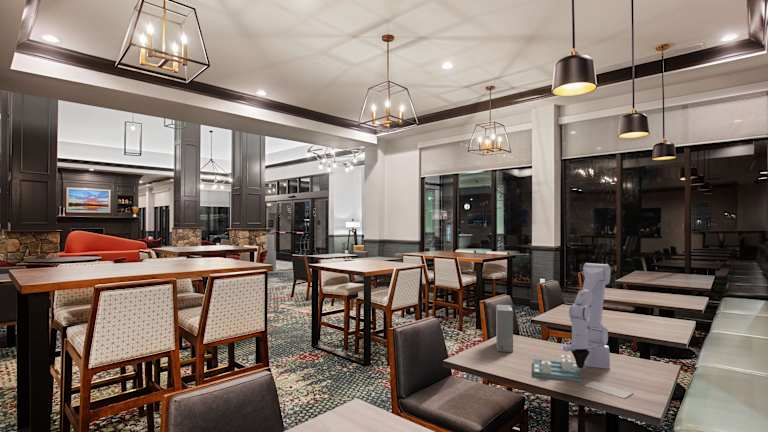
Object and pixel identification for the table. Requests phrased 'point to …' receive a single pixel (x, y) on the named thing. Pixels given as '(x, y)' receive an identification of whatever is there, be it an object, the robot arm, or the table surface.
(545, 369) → the tab
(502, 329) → the hard drive box
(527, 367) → the table surface
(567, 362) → the tab
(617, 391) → the smartphone
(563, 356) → the tab
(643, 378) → the table surface
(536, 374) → the switch board
